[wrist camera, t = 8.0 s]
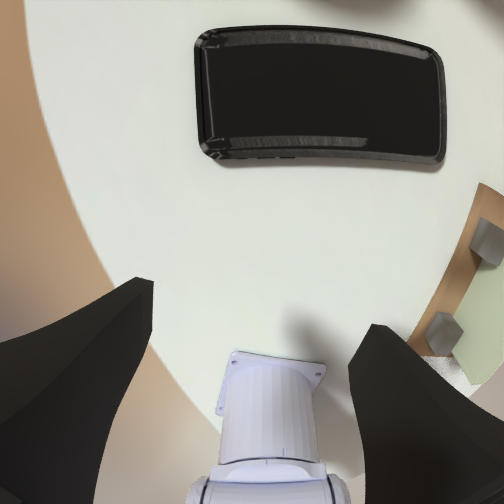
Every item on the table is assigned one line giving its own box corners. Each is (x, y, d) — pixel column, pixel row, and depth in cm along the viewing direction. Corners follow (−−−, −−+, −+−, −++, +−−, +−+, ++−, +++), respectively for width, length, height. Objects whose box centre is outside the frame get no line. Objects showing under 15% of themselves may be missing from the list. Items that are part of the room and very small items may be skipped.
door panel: (454, 337, 20) (485, 383, 14) (440, 335, 20) (471, 385, 14) (506, 235, 16) (554, 269, 10) (494, 228, 16) (545, 264, 10)
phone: (193, 31, 12) (442, 50, 11) (197, 36, 13) (433, 53, 12) (200, 162, 15) (445, 167, 14) (204, 160, 16) (436, 165, 15)
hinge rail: (453, 350, 22) (468, 374, 19) (403, 347, 21) (417, 375, 18) (522, 210, 16) (548, 225, 12) (479, 182, 15) (510, 195, 12)
